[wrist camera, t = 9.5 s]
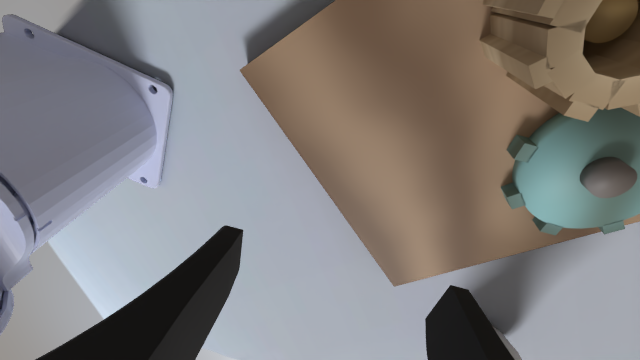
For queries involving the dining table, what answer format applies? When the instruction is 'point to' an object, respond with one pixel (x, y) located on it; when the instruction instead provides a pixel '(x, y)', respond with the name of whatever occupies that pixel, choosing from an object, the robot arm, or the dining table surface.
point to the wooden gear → (564, 55)
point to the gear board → (445, 135)
